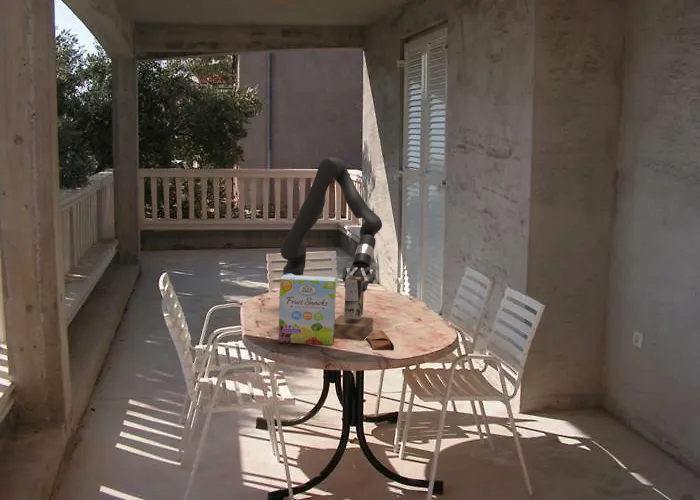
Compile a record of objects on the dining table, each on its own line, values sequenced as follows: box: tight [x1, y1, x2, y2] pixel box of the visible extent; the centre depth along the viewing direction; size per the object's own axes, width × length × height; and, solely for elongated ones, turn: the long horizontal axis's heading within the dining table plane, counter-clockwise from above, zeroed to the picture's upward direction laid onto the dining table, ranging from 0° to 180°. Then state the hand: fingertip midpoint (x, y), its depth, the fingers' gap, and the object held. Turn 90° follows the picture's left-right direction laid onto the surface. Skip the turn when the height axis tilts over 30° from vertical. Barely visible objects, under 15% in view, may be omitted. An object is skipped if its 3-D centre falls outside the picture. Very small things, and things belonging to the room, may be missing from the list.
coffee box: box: [343, 275, 365, 319], centre depth 323 cm, size 9×6×16 cm
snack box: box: [277, 275, 337, 346], centre depth 309 cm, size 22×9×26 cm, turn 88°
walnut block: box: [334, 314, 374, 341], centre depth 325 cm, size 14×16×6 cm
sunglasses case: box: [365, 329, 395, 351], centre depth 310 cm, size 18×7×7 cm
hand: (354, 289), depth 323 cm, fingers closed on coffee box, 6 cm apart
